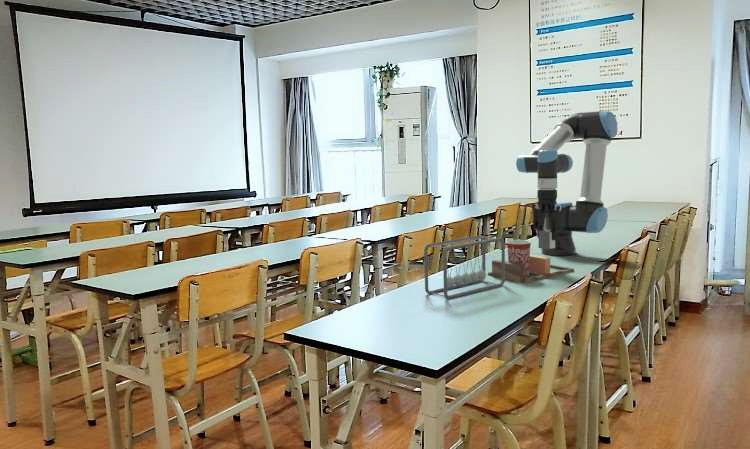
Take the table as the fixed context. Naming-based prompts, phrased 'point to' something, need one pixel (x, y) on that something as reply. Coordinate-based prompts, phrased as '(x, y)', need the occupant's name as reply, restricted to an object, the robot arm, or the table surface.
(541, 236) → the lock block
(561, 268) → the clamp bed
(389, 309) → the table surface
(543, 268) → the block
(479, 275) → the newton's cradle
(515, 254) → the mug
